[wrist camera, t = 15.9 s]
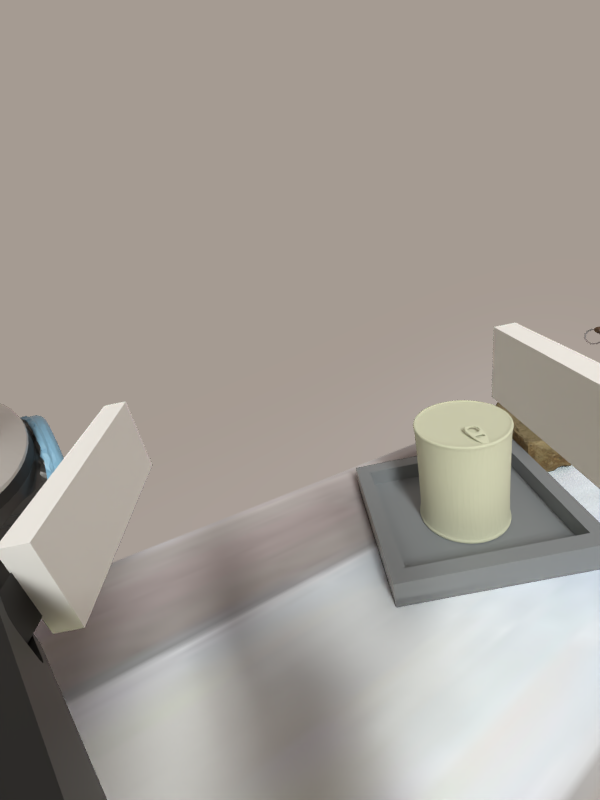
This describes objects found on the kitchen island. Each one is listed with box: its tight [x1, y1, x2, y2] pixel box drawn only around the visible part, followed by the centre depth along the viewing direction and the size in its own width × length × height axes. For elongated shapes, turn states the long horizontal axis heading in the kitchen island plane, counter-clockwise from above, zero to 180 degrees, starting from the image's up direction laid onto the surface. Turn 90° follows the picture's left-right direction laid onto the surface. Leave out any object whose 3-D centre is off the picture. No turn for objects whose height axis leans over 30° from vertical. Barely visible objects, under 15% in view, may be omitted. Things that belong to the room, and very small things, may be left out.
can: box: [413, 400, 514, 544], centre depth 42 cm, size 9×9×12 cm
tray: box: [356, 439, 600, 607], centre depth 45 cm, size 20×18×3 cm
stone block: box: [496, 403, 571, 472], centre depth 53 cm, size 6×12×5 cm, turn 3°
